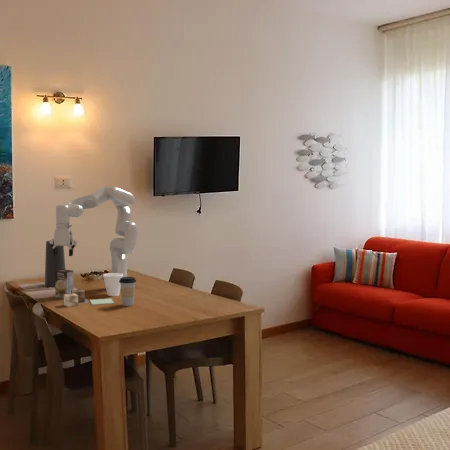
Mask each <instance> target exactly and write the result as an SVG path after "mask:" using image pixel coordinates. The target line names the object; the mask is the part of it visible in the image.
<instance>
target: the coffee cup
mask: <svg viewBox="0 0 450 450" xmlns="http://www.w3.org/2000/svg"><path fill="white" fill-rule="evenodd" d="M119 282H120V286H121V287H120V288H121V289H120V296H121V301H122V306H124V307H131V306H134V299H135V294H136V292H135V291H136V282H137V279H136V278H135V277H134V276H127V277H122V278H120V280H119Z"/></svg>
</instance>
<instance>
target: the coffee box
mask: <svg viewBox="0 0 450 450" xmlns="http://www.w3.org/2000/svg"><path fill="white" fill-rule="evenodd" d="M74 282H75V281H74V270H73V269H72V270H71V269H66V268H65V269H60V270H56V271H55V288H54V289H55V290H54V294H55V296H54V297H55V299H56V298H57V299H63V300H64V295H65V294H73V290H75V289H74V287H75V286H74Z"/></svg>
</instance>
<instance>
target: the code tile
mask: <svg viewBox="0 0 450 450" xmlns="http://www.w3.org/2000/svg"><path fill="white" fill-rule="evenodd" d="M88 303H90V301H89V300H88V298H85V302H78V304H88Z"/></svg>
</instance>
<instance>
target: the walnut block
mask: <svg viewBox="0 0 450 450" xmlns="http://www.w3.org/2000/svg"><path fill="white" fill-rule="evenodd" d="M73 294H76V295H78V302H85V299H86V290H84V289H74V290H73Z"/></svg>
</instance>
